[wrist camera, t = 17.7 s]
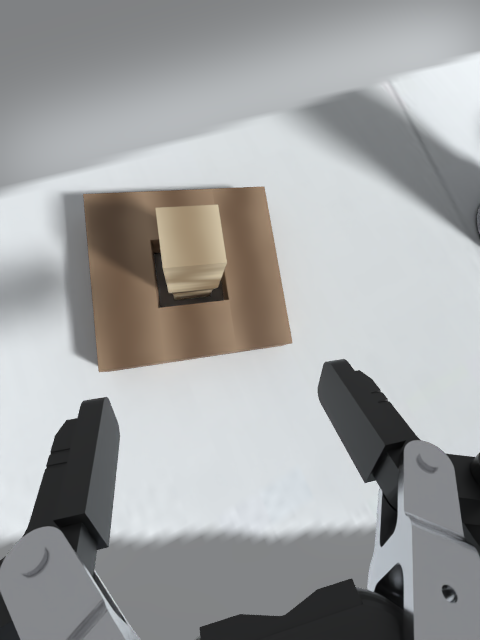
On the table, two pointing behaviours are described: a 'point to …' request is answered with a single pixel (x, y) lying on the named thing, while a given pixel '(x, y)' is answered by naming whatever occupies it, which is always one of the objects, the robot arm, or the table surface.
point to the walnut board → (142, 288)
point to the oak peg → (191, 249)
